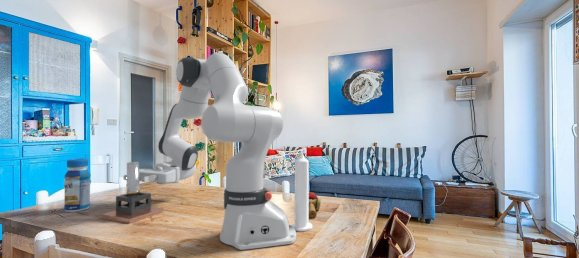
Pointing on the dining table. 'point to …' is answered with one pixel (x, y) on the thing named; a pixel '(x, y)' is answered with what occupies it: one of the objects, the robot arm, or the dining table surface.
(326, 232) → the dining table surface
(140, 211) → the collar stand
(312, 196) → the kendama
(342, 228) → the dining table surface
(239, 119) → the robot arm
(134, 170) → the steel tube
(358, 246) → the dining table surface
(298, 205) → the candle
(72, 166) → the blue pill bottle
